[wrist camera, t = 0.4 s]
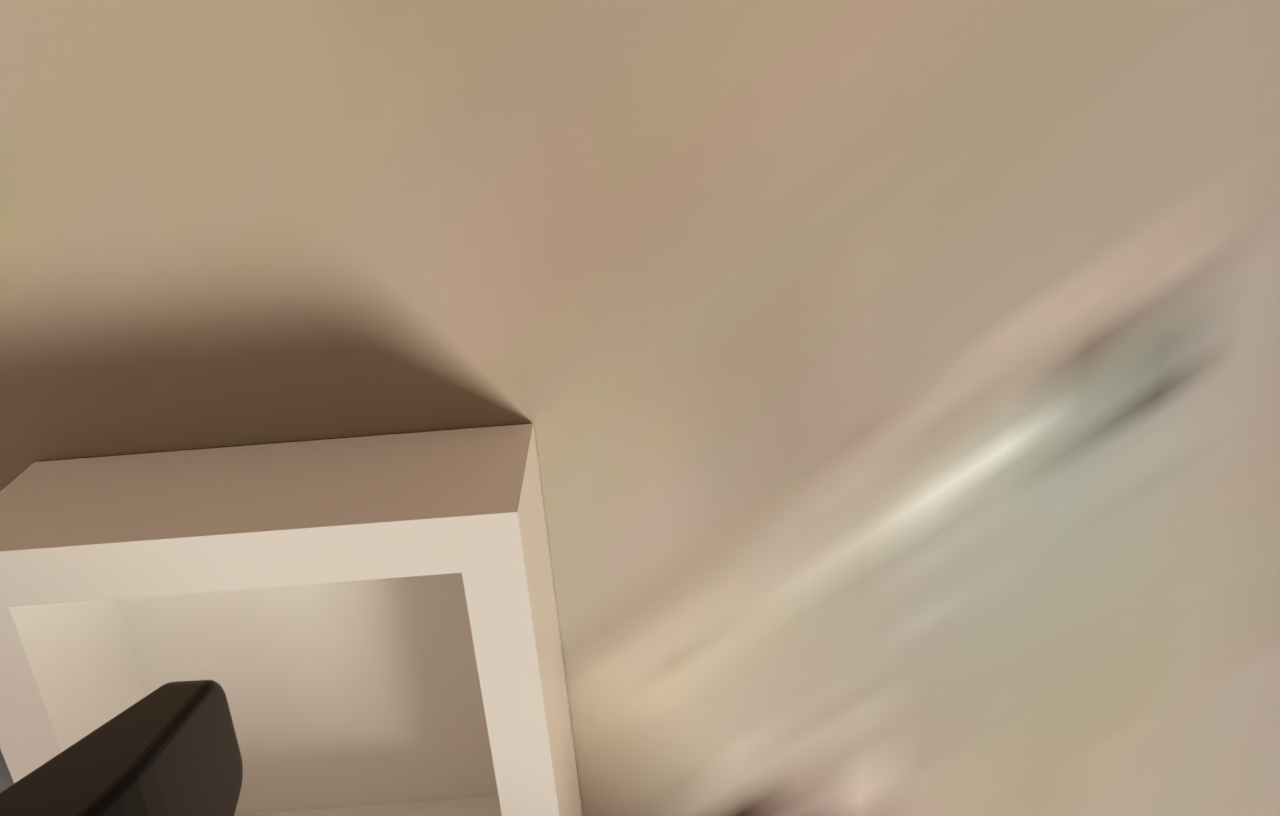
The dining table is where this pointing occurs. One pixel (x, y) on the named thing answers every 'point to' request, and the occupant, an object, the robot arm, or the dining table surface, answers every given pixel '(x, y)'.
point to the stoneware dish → (302, 616)
